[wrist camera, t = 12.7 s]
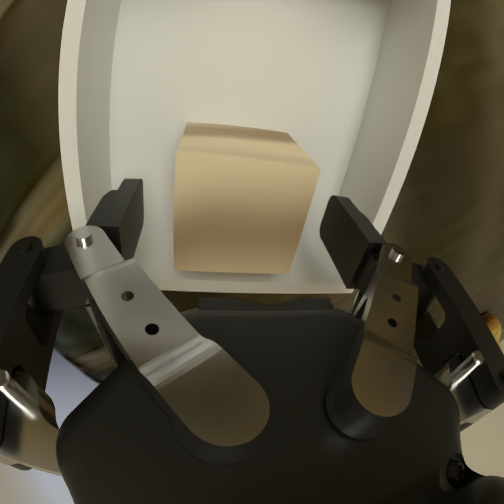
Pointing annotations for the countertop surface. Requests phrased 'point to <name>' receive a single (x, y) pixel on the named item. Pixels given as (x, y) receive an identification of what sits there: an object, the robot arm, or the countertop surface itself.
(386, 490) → the robot arm
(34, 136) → the countertop surface
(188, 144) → the birch cube
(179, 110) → the tote
